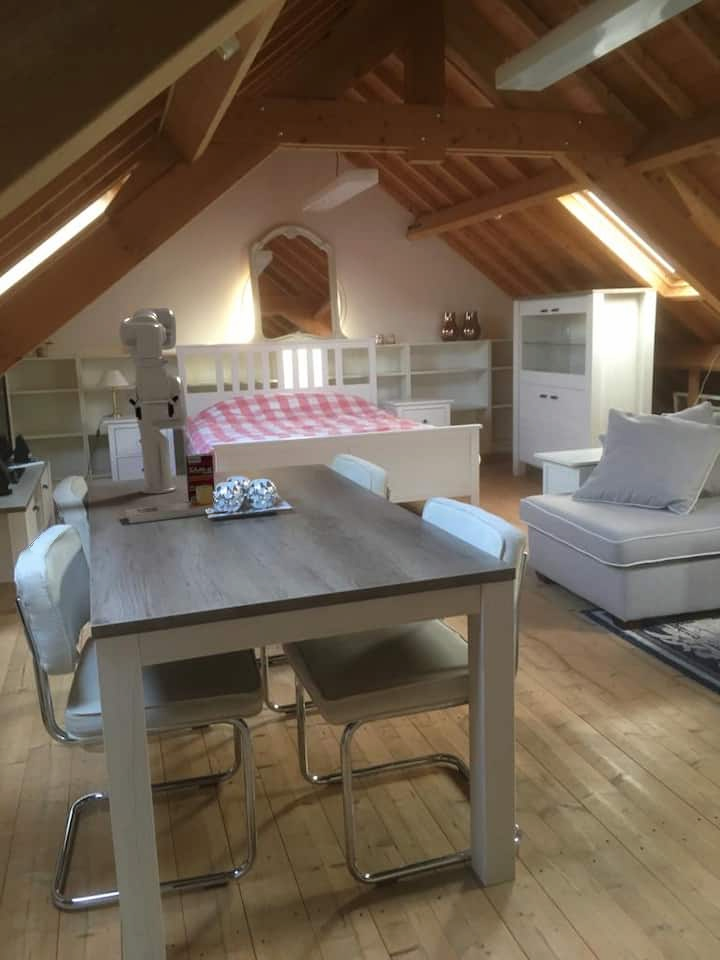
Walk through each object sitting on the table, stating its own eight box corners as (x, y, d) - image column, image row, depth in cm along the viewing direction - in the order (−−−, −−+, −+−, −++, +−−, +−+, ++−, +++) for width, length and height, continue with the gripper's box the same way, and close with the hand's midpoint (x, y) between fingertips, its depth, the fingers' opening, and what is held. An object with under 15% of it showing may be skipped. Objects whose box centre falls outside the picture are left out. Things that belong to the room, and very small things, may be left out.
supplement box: (190, 504, 268) (186, 456, 265) (188, 501, 272) (184, 454, 269) (216, 501, 270) (212, 454, 267) (214, 498, 275) (210, 452, 272)
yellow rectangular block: (197, 510, 258) (195, 486, 256) (211, 509, 259) (209, 484, 258) (200, 513, 254) (198, 488, 252) (214, 511, 255) (212, 486, 254)
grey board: (126, 517, 252) (125, 509, 251) (221, 506, 263) (221, 498, 262) (130, 523, 243) (129, 514, 243) (228, 511, 254) (227, 503, 254)
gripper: (175, 361, 260) (180, 414, 263) (120, 364, 253) (125, 419, 257) (181, 363, 253) (185, 417, 257) (124, 366, 246) (129, 422, 250)
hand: (155, 418), depth 257 cm, fingers open, 9 cm apart
